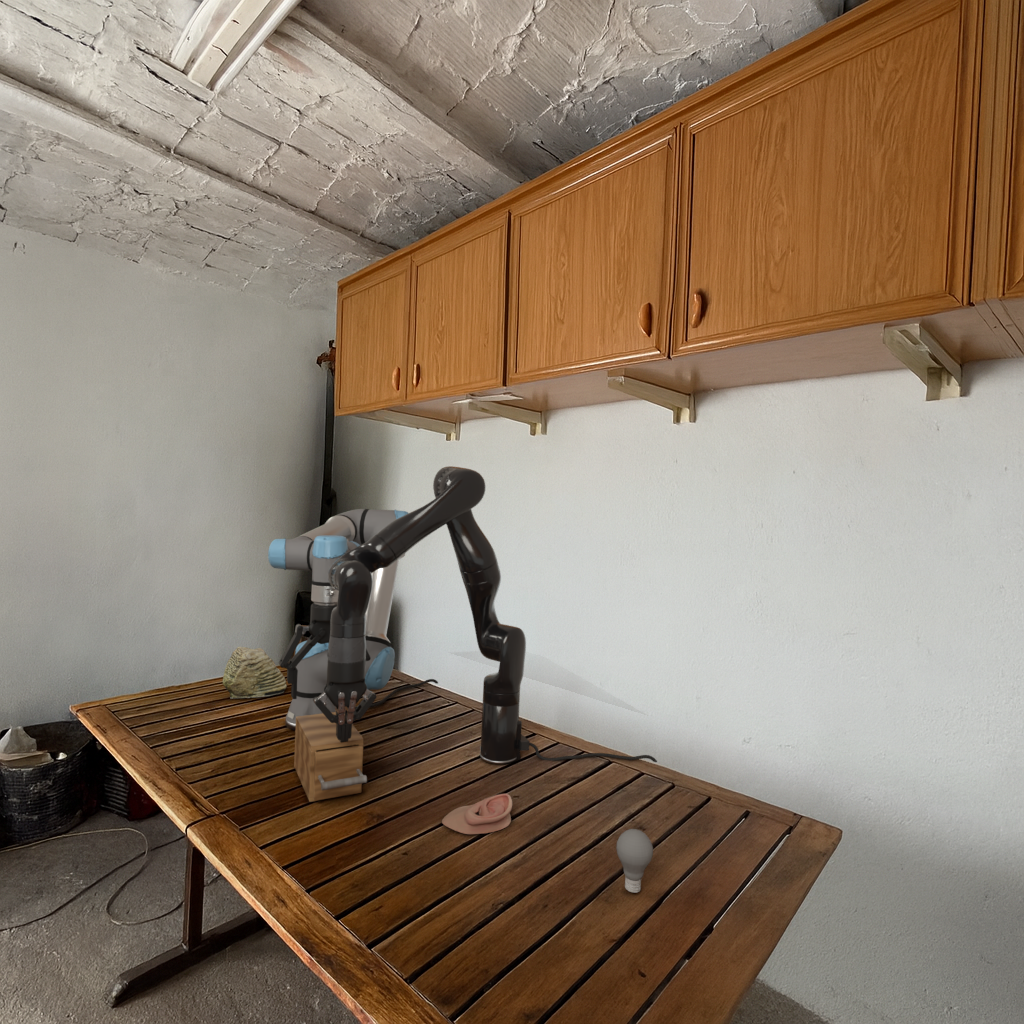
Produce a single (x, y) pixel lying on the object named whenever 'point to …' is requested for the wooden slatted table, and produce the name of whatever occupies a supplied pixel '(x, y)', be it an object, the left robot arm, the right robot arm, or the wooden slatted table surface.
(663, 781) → the wooden slatted table surface
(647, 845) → the light bulb
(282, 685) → the fossil
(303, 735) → the cabinet
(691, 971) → the wooden slatted table surface
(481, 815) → the anatomical model
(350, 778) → the drawer
